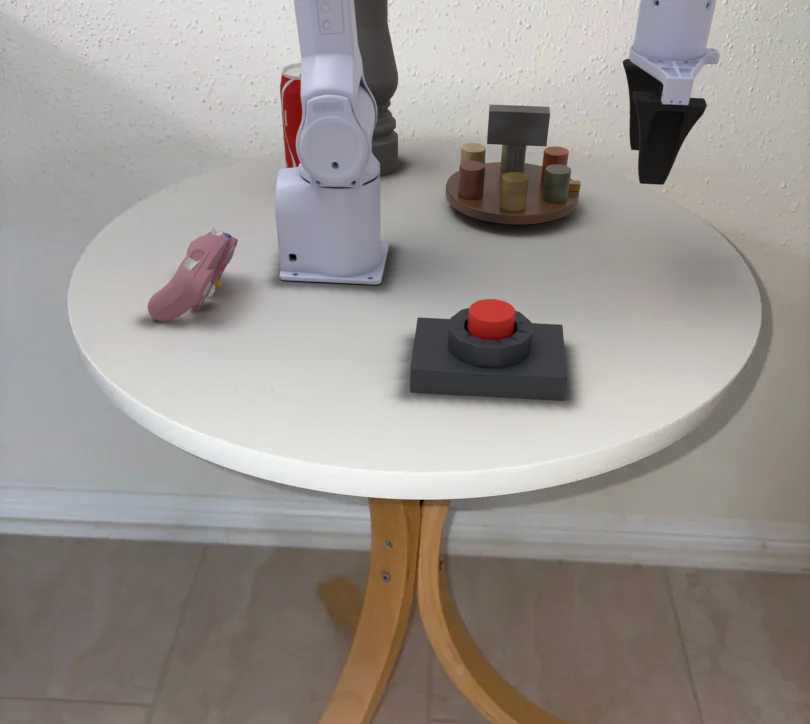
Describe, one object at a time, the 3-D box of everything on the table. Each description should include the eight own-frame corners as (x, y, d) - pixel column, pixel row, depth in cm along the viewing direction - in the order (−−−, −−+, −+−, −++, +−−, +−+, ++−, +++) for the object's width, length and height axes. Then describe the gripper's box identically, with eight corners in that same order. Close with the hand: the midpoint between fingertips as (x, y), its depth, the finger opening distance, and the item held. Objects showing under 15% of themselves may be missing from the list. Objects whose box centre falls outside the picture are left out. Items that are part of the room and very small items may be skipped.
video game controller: (189, 343, 79) (214, 281, 74) (141, 317, 78) (163, 252, 74) (228, 290, 86) (252, 229, 82) (184, 265, 85) (206, 203, 81)
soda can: (287, 174, 103) (277, 59, 95) (335, 173, 103) (330, 58, 95) (287, 194, 99) (278, 75, 91) (338, 192, 99) (333, 74, 91)
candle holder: (408, 162, 106) (412, -97, 89) (379, 180, 102) (376, -88, 85) (364, 151, 108) (359, -103, 91) (334, 168, 104) (323, -95, 87)
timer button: (466, 340, 70) (468, 320, 69) (468, 317, 73) (469, 297, 72) (513, 343, 70) (515, 322, 69) (513, 319, 73) (515, 299, 71)
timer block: (409, 393, 71) (410, 348, 69) (417, 340, 77) (417, 297, 74) (563, 401, 71) (570, 357, 68) (559, 347, 76) (565, 304, 74)
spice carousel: (442, 221, 91) (445, 130, 85) (448, 168, 102) (452, 83, 96) (582, 227, 91) (595, 136, 85) (574, 173, 101) (586, 88, 95)
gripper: (751, 13, 65) (705, 201, 74) (717, -32, 75) (681, 137, 85) (651, 10, 65) (618, 197, 74) (631, -35, 76) (605, 134, 85)
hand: (646, 165), depth 80 cm, fingers open, 7 cm apart
